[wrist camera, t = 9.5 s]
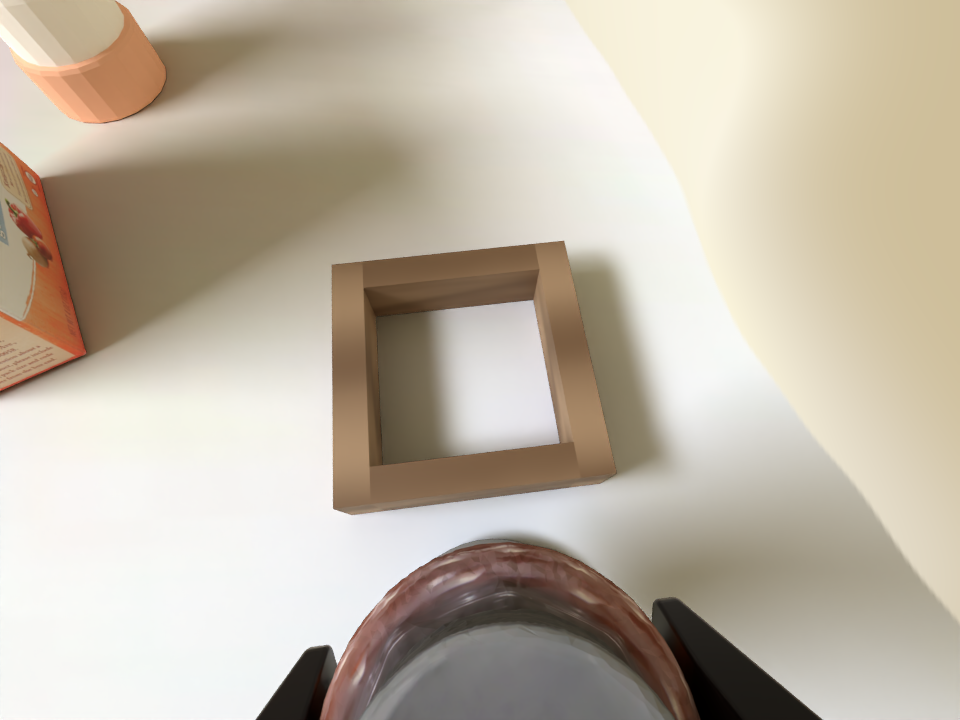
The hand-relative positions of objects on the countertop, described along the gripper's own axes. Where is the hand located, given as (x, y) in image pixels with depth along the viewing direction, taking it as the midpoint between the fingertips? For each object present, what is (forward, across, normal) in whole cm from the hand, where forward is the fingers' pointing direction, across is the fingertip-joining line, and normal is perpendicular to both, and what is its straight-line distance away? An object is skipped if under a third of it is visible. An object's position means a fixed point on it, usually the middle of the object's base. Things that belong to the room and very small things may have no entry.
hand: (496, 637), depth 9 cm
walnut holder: (+16, 0, +2) cm, 16 cm away
